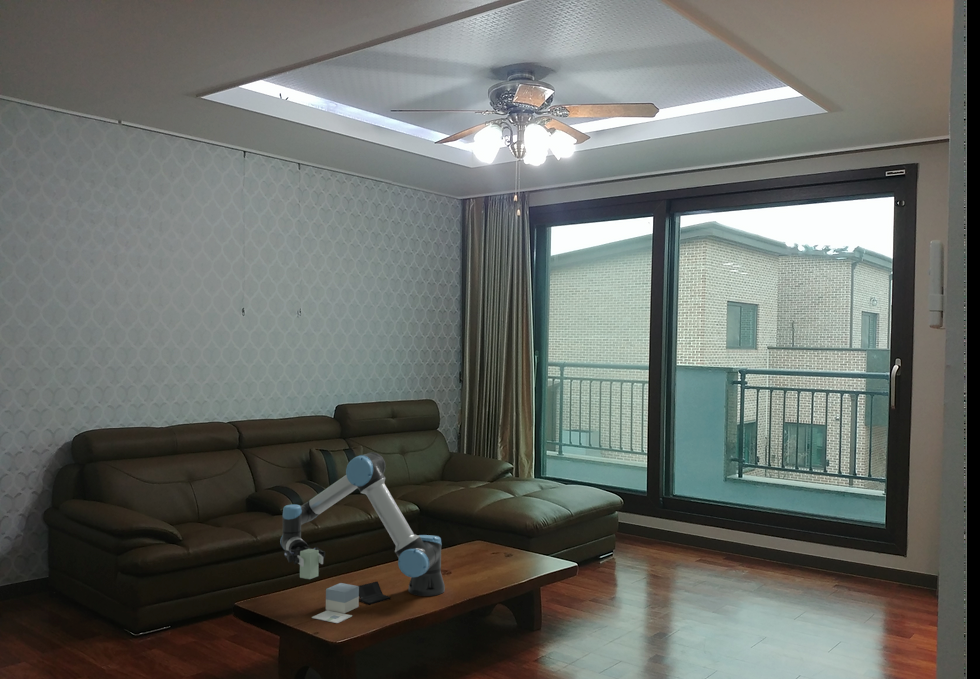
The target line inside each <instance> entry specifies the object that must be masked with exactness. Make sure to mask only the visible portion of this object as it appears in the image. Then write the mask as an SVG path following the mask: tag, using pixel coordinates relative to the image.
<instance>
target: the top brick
mask: <svg viewBox="0 0 980 679" xmlns="http://www.w3.org/2000/svg"><path fill="white" fill-rule="evenodd" d="M300 556H301V557H302V558H303V559H304V566H303V567H301V566H300V565H299V578H300V579H305V580H311V579H314V578H317V577H319V564H320V563H319V562H318V559H319V550H314V548H311V549H306V550H303V551H300Z"/></svg>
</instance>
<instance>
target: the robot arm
mask: <svg viewBox="0 0 980 679" xmlns="http://www.w3.org/2000/svg"><path fill="white" fill-rule="evenodd" d="M386 466H387V465H386V461H385V459H384V457H383V456H382V455H380V454H379V453H377V452H368V453H364V454H360V455H357V456H355V457H353V458H352V459H350V461H349V462H348V463H347V465H346V468H345V475H344V476H343V477H341V478H339V479H338V480H336V481H335V482H334V483H332V484H331V485H329V486H328V487H327V488H325V489H324V490H322V491H321V492H319V493H318V494H316V495H315V496H314V497H312V498H311V499H309V500H308V501H306V502H305V503H304V504H302V505H300V504H287V505H285V506H283V509H282V535H281V537H280V541H279V542H280V546H281V548H282V549H283V550H284V557H285V558H286V559H287V561H288V563H292V562H293V565H297V564H298V566H299V567H300V566H301V567H303V566H304V559H303V558H302V557H301V556H300V551H303V550H306V549H312V547H310V546H309V545H308V543H307V542H306V541H305V540H303V539H302V525H304V524H306V523H309V522H312V521H313V520H314V519H317V517H318V516H319V515H321V514H322V513H323V512H325V511H327V510H328V509H329V508H331V507H332V506H333V505H335V504H336V503H338V502H340V501H341V500H342V499H344V498H346V496H348V495H350V494H351V493H353V492H354V491H355V490H357V489H358V490H359V493H360V494H363V495H366V496H367V498H368V500H369V502H370V503H371V505H372V508H373V509H374V512H376V514H377V515H378V517H379V518H378V519H380V522H382V525H383V526H384V528H385V530H386V531H387V533H388V534H389V537H390V538H391V540H392V541H393V544H394V545H395V547H394V549H395V550H394V554H396V556H397V558H398V561H397V565H398V568H399V570H400V571H401V573H402V574H403V575H405V576H406V577H408V578H410V580H409V584H408V593H410V594H411V595H415V596H419V597H433V596H439V595H442V594H443V593H445V592H446V590H445V589H446V588H445V587H446V586H445V582H444V578H443V574H442V571H441V570H442V569H441V568H442V545H443V544H442V538H441V537H440V536H439V535H429V534H428V535H427V534H419V535H417V534H416V533H414V531H413V530H412V528H411V527H410V525H409V523H408V521H407V519H406V518H405V516H404V515H403V513H402V511H401V509H400V508H399V506H398V505H397V502H396V501H395V499H394V497H393V496H392V494H391V492H390V491H389V489H388V487H387V485H386V484H385V481H386V476H385V474H384V473H385V471H386ZM313 549H314V550H319V559H318V562H319V564H320V565H324V559H326V551H324V550H322V549H320V548H319V546H315V547H314V548H313Z"/></svg>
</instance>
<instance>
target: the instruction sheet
mask: <svg viewBox="0 0 980 679" xmlns="http://www.w3.org/2000/svg"><path fill="white" fill-rule="evenodd" d="M351 617H353V615H352V614H346V613H339V612H335V611H330V610H324V611H323V612H320V613H318V614H316V615H313V616H311V619H315V620H319V621H325V622H330V623H335V624H339V623H341V622H344V621H346V620H347V619H349V618H351Z"/></svg>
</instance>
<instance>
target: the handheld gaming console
mask: <svg viewBox="0 0 980 679" xmlns="http://www.w3.org/2000/svg"><path fill="white" fill-rule="evenodd" d="M358 586H359V601H360V603H364V604H365V605H369V606H371V605H374V604H377V603H381V602H385V601H388V600H391V596H389V595H386V594H383V591H382V589H381V586H380V583H379V582H378V581H373V582H368V583H365V584H361V585H358Z"/></svg>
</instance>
